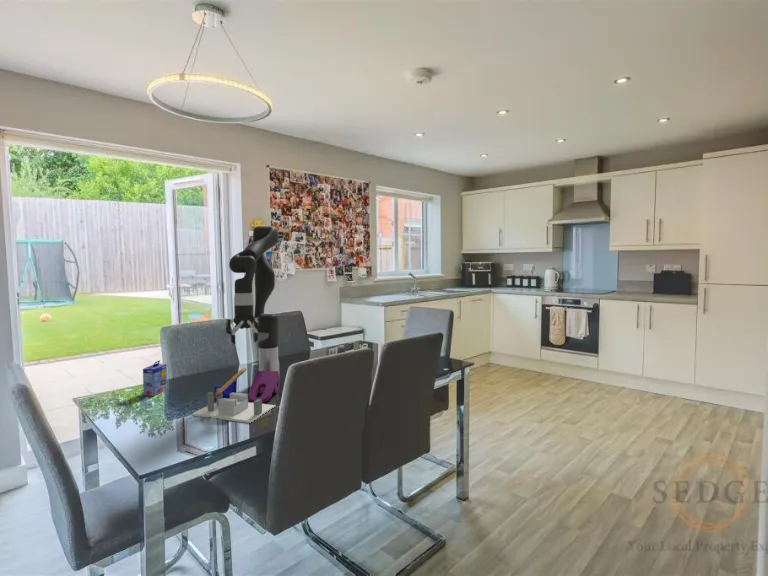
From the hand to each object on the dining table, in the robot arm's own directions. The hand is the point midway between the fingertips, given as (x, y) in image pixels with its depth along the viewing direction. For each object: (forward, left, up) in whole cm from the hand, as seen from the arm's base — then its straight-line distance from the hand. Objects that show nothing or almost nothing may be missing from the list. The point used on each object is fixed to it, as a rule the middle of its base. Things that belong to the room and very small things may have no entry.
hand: (244, 343), depth 176 cm
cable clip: (-1, -12, -25) cm, 27 cm away
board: (+10, +2, -25) cm, 27 cm away
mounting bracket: (-8, +3, -26) cm, 27 cm away
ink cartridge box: (+1, -47, -25) cm, 53 cm away
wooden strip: (+12, +1, -14) cm, 18 cm away
